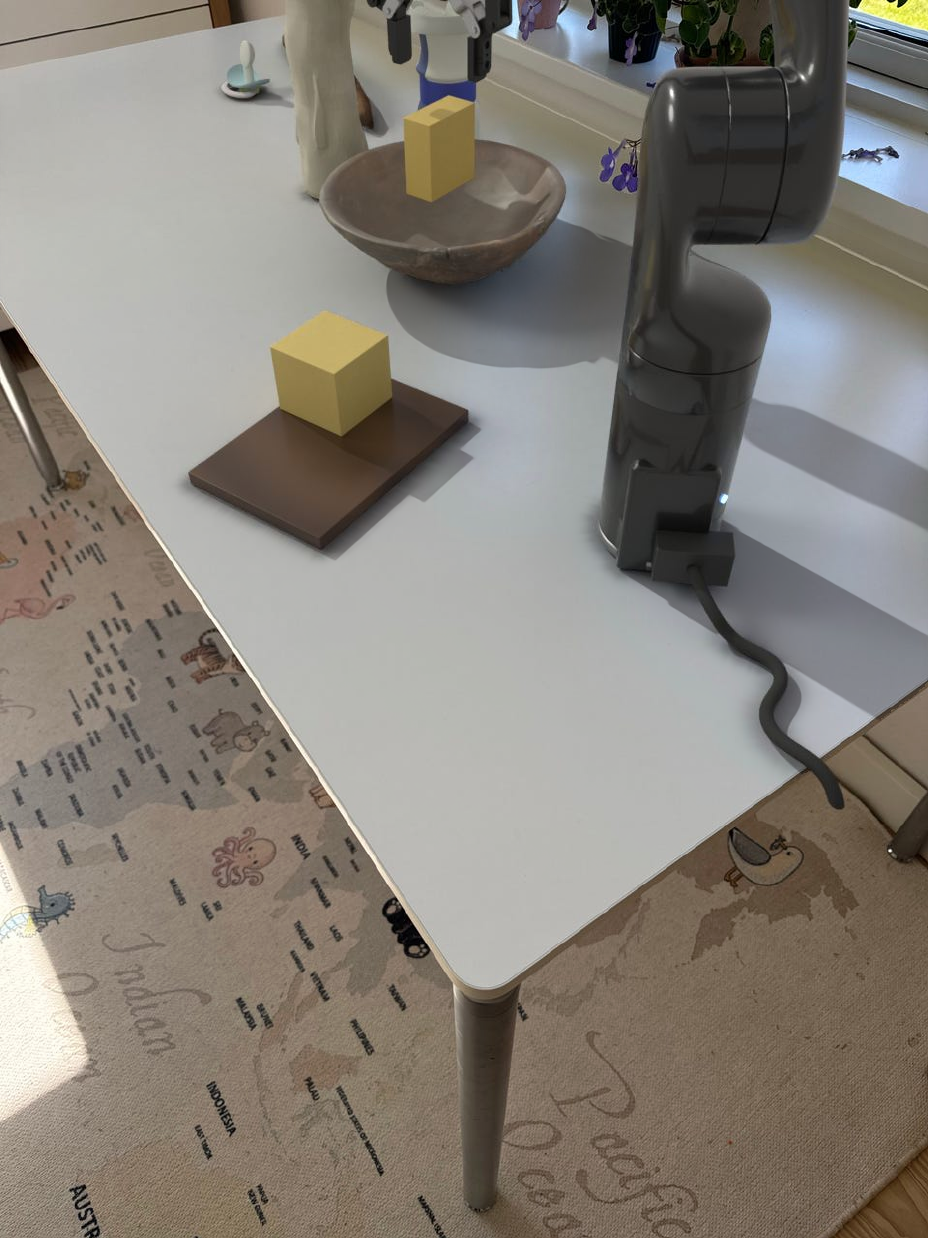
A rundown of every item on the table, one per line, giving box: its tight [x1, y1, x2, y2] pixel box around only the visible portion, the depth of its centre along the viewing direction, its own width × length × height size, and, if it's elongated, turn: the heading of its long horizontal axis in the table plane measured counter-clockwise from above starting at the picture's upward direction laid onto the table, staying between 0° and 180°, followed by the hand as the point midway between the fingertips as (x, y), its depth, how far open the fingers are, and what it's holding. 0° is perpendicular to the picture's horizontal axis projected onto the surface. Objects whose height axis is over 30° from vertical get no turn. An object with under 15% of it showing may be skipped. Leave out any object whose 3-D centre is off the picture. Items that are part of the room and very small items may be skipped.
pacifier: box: [221, 39, 271, 99], centre depth 138 cm, size 7×6×6 cm
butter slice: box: [402, 95, 475, 202], centre depth 98 cm, size 7×3×7 cm, turn 143°
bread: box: [281, 33, 375, 130], centre depth 140 cm, size 38×5×5 cm, turn 24°
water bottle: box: [408, 0, 481, 140], centre depth 110 cm, size 8×9×25 cm
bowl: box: [318, 139, 567, 285], centre depth 104 cm, size 25×25×8 cm
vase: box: [283, 0, 370, 200], centre depth 108 cm, size 9×8×30 cm
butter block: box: [269, 310, 392, 436], centre depth 86 cm, size 7×7×6 cm
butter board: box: [187, 377, 469, 550], centre depth 85 cm, size 20×14×1 cm
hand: (438, 70), depth 93 cm, fingers open, 8 cm apart
